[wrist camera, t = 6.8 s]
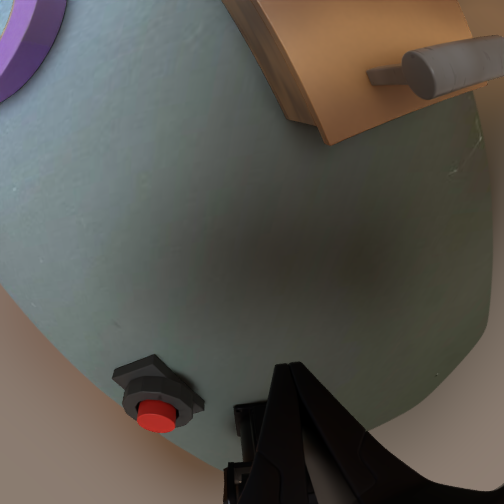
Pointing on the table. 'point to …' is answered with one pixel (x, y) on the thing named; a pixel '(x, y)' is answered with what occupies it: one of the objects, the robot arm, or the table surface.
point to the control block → (156, 389)
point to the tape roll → (27, 41)
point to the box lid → (378, 57)
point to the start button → (156, 416)
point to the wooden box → (270, 60)
